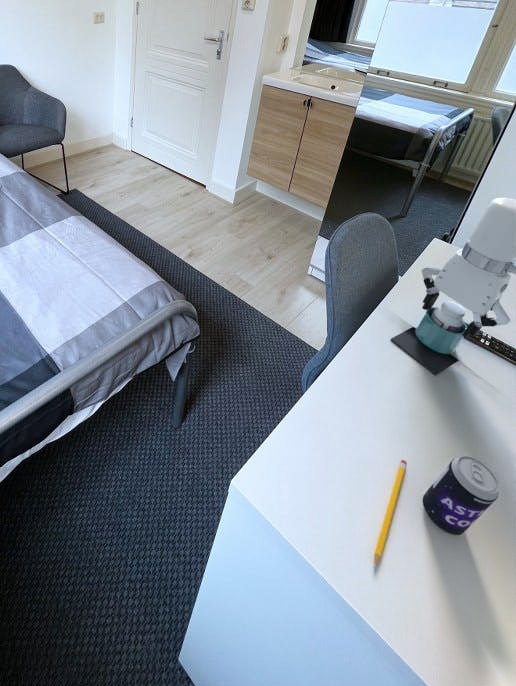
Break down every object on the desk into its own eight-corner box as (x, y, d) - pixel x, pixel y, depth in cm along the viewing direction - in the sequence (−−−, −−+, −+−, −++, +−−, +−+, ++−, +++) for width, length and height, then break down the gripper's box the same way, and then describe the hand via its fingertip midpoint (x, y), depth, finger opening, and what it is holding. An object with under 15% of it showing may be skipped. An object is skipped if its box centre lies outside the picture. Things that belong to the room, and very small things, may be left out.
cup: (462, 346, 93) (474, 327, 90) (443, 358, 89) (455, 339, 87) (427, 321, 99) (438, 303, 96) (408, 332, 95) (419, 313, 92)
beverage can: (419, 520, 65) (455, 478, 59) (420, 486, 69) (453, 444, 63) (464, 547, 62) (505, 506, 56) (461, 510, 66) (500, 469, 61)
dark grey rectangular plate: (470, 353, 94) (470, 351, 94) (435, 375, 88) (436, 374, 88) (425, 320, 102) (425, 319, 102) (390, 339, 96) (390, 338, 96)
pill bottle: (449, 336, 95) (469, 305, 90) (449, 352, 91) (471, 320, 86) (421, 325, 97) (439, 294, 93) (421, 340, 93) (440, 308, 89)
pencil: (405, 464, 72) (407, 462, 71) (376, 570, 59) (378, 568, 58) (400, 461, 72) (402, 458, 72) (370, 565, 59) (372, 563, 59)
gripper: (548, 280, 78) (500, 345, 86) (449, 229, 91) (416, 289, 100) (530, 292, 75) (482, 358, 83) (430, 236, 88) (397, 298, 96)
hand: (446, 320), depth 91 cm, fingers closed on cup, 7 cm apart
